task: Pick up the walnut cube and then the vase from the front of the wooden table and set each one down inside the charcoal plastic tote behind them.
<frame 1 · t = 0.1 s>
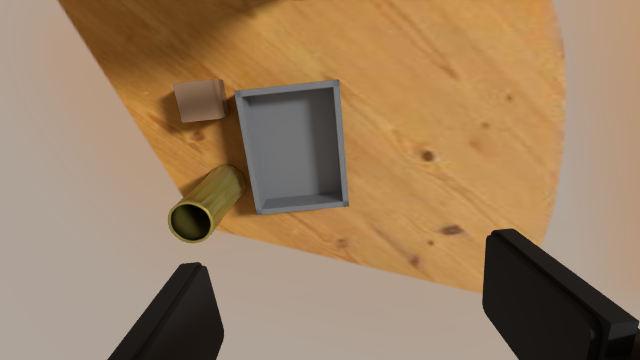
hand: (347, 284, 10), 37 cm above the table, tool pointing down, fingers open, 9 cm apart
vase: (227, 182, 48), on the table
tote: (297, 145, 46), on the table
walnut cube: (209, 99, 43), on the table
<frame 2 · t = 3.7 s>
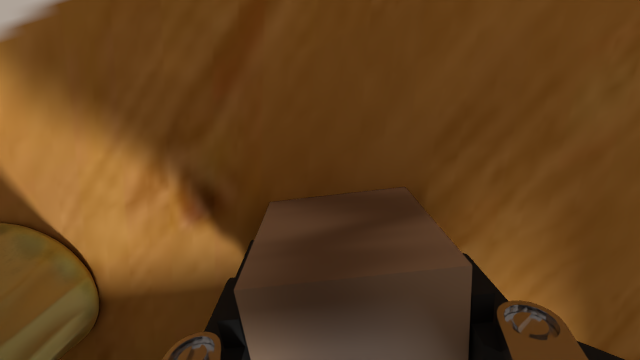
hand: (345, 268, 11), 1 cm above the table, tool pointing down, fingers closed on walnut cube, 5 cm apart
vase: (30, 284, 12), on the table
walnut cube: (343, 253, 12), on the table, touching gripper
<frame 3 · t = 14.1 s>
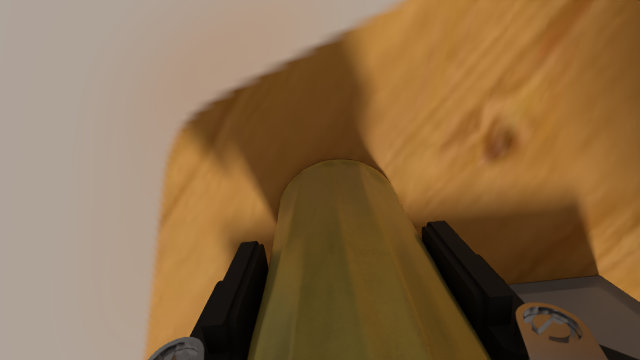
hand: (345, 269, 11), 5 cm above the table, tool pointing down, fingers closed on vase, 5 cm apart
vase: (338, 214, 15), on the table, touching gripper
when the fingers open (7 cm above the table, at t = 19.5 s): vase drops 1 cm, resting on tote.
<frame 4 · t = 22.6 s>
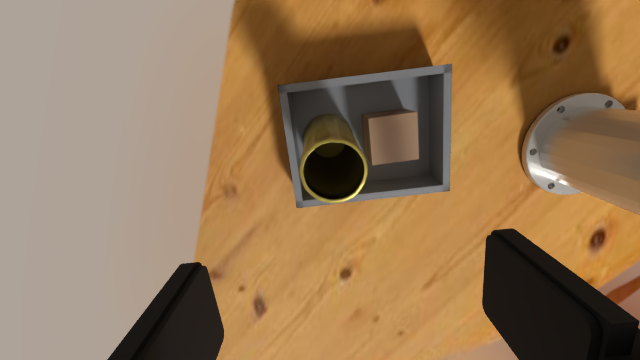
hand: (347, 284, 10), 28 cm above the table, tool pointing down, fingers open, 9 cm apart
vase: (327, 138, 36), point 1 cm above the table, touching tote
tote: (362, 133, 37), on the table
walnut cube: (384, 132, 36), point 1 cm above the table, touching tote
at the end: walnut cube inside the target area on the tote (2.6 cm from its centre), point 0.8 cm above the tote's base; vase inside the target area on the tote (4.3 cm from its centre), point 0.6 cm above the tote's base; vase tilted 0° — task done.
